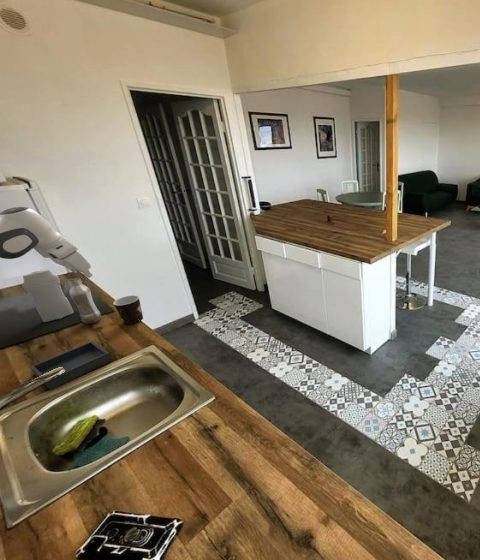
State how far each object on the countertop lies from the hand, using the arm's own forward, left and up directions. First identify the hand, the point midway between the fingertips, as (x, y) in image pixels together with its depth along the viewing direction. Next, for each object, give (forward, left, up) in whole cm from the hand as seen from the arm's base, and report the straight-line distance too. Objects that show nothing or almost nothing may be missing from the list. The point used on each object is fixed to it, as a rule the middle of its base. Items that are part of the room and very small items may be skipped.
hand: (83, 274), depth 124 cm
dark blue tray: (-18, -26, -23) cm, 39 cm away
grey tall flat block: (-8, +21, -23) cm, 32 cm away
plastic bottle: (-2, +4, -23) cm, 23 cm away
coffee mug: (+6, -10, -23) cm, 26 cm away
